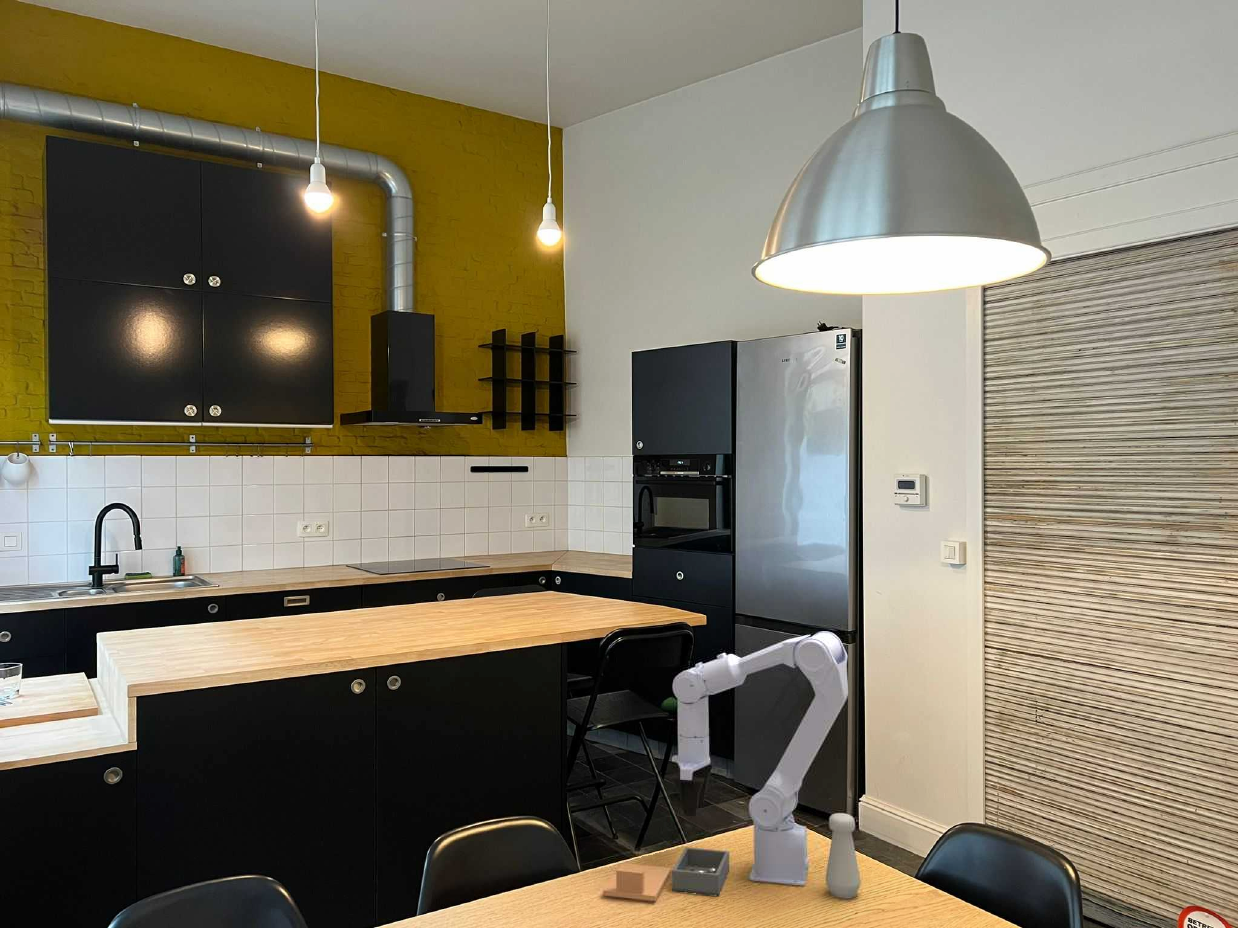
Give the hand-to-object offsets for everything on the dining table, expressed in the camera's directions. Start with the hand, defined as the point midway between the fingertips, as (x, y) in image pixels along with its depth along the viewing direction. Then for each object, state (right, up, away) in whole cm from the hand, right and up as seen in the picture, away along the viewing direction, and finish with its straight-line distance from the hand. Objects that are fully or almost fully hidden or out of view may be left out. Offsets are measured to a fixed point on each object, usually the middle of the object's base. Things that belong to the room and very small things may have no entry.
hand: (694, 808), depth 171 cm
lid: (-11, -9, -12) cm, 18 cm away
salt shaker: (+24, -9, -16) cm, 30 cm away
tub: (0, -9, -10) cm, 13 cm away
